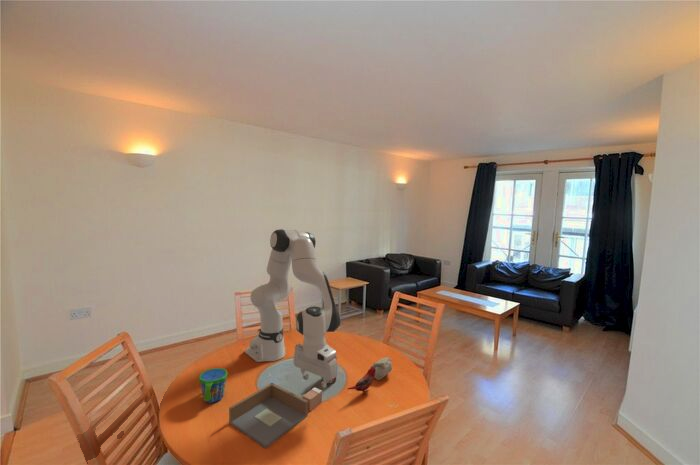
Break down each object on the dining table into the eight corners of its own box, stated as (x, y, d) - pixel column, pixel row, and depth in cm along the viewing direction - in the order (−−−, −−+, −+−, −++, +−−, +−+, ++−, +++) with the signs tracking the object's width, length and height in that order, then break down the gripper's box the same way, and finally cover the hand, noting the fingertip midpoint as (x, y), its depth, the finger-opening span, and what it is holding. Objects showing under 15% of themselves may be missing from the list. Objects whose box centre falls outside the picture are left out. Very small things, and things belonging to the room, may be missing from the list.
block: (310, 411, 122) (310, 399, 122) (302, 407, 124) (302, 395, 124) (321, 402, 128) (322, 390, 127) (314, 399, 130) (314, 387, 130)
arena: (229, 422, 115) (229, 407, 114) (271, 396, 131) (272, 382, 130) (265, 448, 103) (265, 431, 103) (307, 416, 119) (307, 400, 119)
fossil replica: (368, 381, 145) (389, 386, 143) (370, 365, 143) (392, 369, 141) (371, 366, 156) (391, 370, 154) (373, 351, 155) (393, 355, 153)
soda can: (334, 385, 140) (335, 359, 139) (319, 383, 141) (319, 357, 140) (338, 377, 147) (338, 352, 146) (323, 375, 148) (324, 350, 147)
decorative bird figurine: (378, 388, 139) (378, 366, 138) (349, 405, 127) (350, 381, 126) (373, 385, 141) (373, 363, 140) (344, 401, 129) (345, 378, 128)
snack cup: (209, 386, 137) (208, 364, 136) (233, 387, 137) (233, 364, 136) (191, 410, 121) (190, 384, 120) (218, 410, 121) (218, 385, 120)
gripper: (289, 345, 127) (290, 378, 128) (329, 359, 116) (329, 395, 117) (300, 339, 133) (300, 371, 134) (339, 352, 121) (339, 387, 122)
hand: (314, 382), depth 125 cm, fingers open, 8 cm apart
